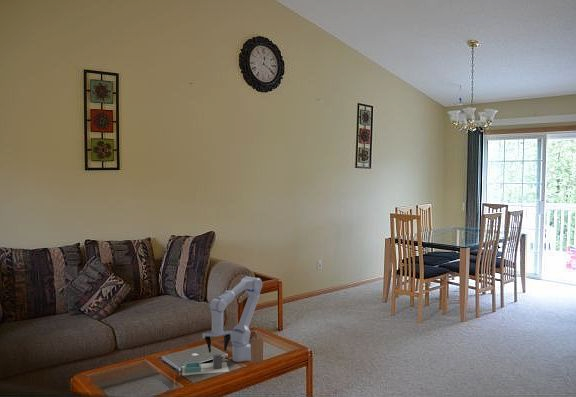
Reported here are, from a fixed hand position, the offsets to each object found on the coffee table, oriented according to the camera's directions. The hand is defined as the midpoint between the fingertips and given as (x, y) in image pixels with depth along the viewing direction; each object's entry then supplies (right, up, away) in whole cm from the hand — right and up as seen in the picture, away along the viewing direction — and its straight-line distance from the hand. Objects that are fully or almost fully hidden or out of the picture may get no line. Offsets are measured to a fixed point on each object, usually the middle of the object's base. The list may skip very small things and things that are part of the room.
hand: (217, 350), depth 231 cm
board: (-6, -9, -1) cm, 11 cm away
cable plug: (0, -8, 0) cm, 8 cm away
